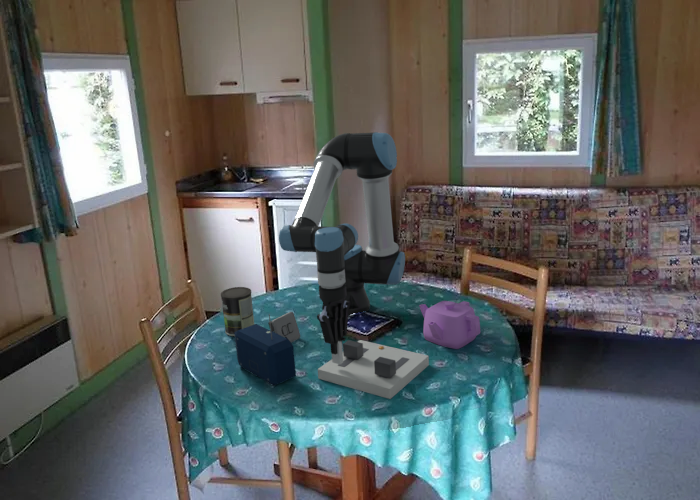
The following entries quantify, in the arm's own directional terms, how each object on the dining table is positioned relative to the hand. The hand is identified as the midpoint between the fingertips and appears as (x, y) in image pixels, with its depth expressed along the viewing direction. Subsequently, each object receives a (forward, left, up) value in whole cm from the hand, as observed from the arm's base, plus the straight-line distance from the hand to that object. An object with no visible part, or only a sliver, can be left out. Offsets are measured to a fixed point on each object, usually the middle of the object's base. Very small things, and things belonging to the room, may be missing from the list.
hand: (337, 362), depth 180 cm
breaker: (-3, +14, -2) cm, 14 cm away
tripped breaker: (-8, 0, -2) cm, 8 cm away
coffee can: (-12, -50, -5) cm, 52 cm away
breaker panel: (-8, +7, -5) cm, 12 cm away
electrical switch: (-12, -30, -5) cm, 33 cm away
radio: (+7, -21, -5) cm, 23 cm away
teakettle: (-38, +16, -5) cm, 41 cm away
